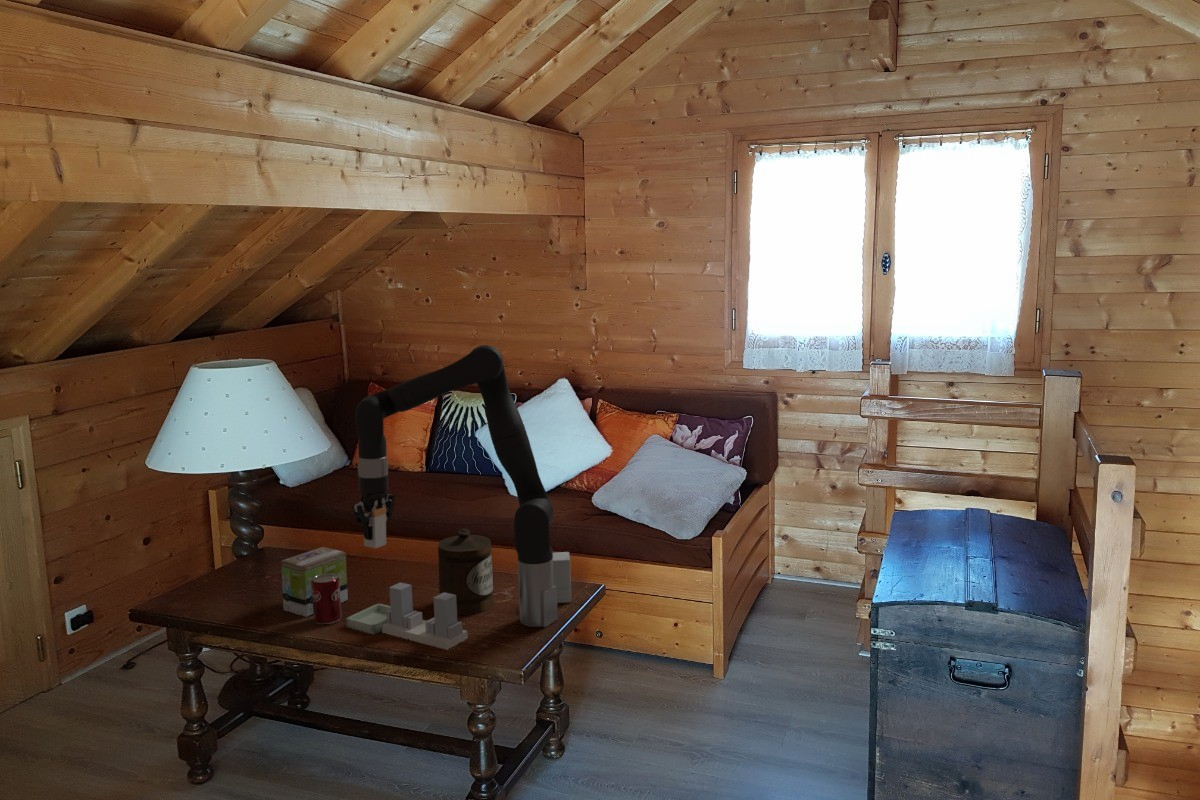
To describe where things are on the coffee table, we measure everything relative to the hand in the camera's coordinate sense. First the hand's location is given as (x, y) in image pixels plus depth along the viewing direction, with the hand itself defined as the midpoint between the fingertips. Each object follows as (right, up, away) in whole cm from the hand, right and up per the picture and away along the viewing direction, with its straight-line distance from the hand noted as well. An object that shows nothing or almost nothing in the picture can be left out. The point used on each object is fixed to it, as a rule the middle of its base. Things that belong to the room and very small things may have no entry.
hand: (375, 536), depth 244 cm
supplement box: (+47, -21, +20) cm, 55 cm away
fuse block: (+14, -25, -4) cm, 29 cm away
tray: (-1, -24, +5) cm, 24 cm away
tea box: (-21, -22, +18) cm, 36 cm away
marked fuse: (0, -2, 0) cm, 2 cm away
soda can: (-15, -24, +8) cm, 29 cm away
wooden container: (+22, -22, +17) cm, 35 cm away
